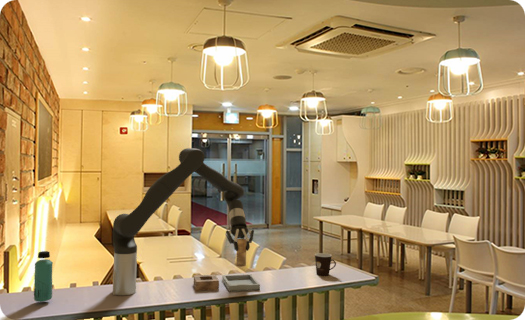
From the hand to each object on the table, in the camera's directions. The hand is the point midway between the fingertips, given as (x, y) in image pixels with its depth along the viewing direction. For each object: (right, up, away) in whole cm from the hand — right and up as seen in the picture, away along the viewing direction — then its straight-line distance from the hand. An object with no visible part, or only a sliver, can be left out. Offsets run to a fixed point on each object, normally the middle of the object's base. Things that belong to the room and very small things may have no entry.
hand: (242, 249), depth 196 cm
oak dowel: (-1, -8, +2) cm, 8 cm away
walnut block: (-16, -16, -2) cm, 23 cm away
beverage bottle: (-76, -15, -29) cm, 83 cm away
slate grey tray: (-1, -17, +2) cm, 17 cm away
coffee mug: (+41, -18, +24) cm, 50 cm away
